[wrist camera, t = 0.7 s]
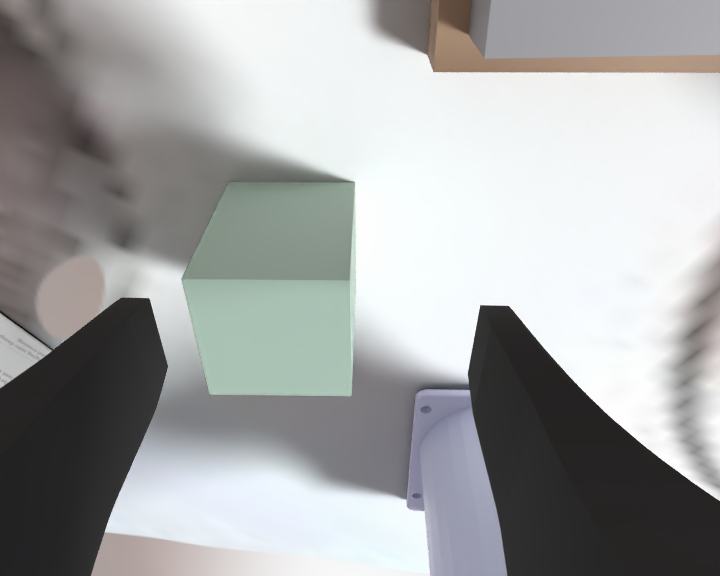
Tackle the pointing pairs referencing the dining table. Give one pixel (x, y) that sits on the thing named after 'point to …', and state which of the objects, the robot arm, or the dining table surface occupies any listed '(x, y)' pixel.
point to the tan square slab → (460, 54)
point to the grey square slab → (594, 28)
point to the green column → (276, 290)
